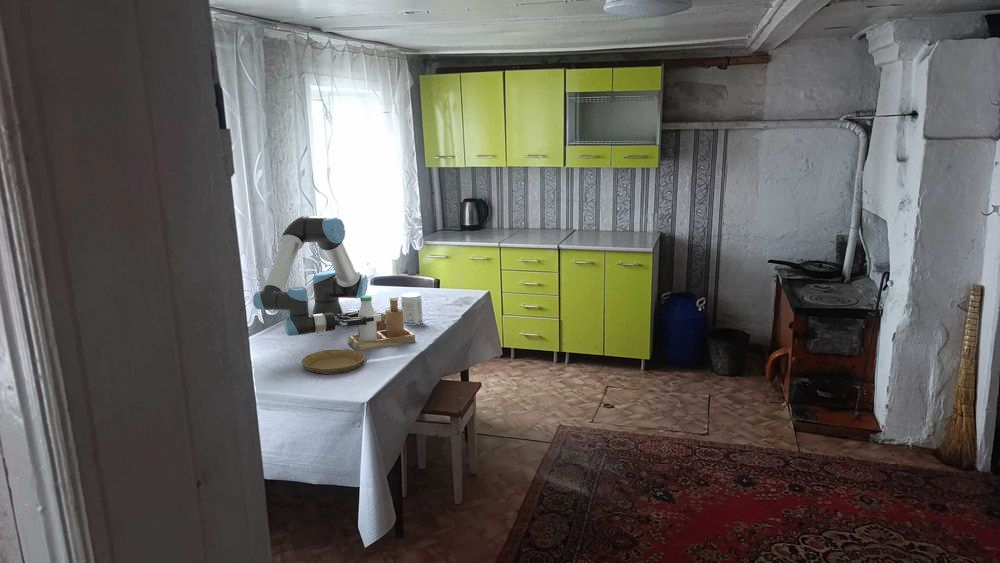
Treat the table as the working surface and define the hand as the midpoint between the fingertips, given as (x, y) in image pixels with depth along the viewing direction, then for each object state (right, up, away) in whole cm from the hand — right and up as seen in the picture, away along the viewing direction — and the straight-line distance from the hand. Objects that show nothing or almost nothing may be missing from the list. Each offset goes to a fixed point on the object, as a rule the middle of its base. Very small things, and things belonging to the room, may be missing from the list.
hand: (378, 315), depth 287 cm
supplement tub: (+10, -6, +33) cm, 35 cm away
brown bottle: (+7, -11, +6) cm, 14 cm away
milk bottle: (-4, -12, 0) cm, 12 cm away
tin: (-6, -9, +22) cm, 24 cm away
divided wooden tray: (+1, -13, +3) cm, 13 cm away
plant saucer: (-13, -19, -23) cm, 33 cm away
